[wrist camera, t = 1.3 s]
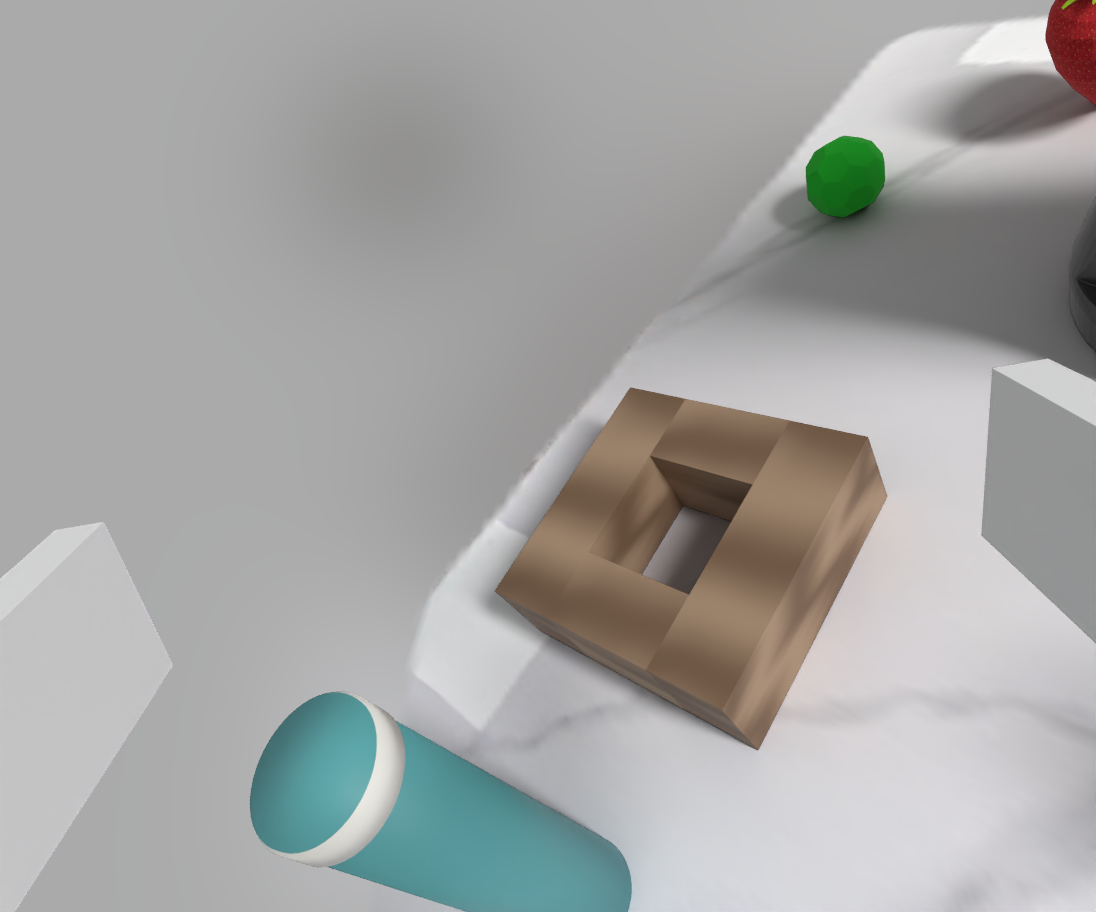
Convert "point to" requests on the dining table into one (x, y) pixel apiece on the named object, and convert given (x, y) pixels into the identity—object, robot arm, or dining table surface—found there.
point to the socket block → (731, 573)
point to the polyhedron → (845, 176)
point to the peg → (422, 818)
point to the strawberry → (1074, 43)
